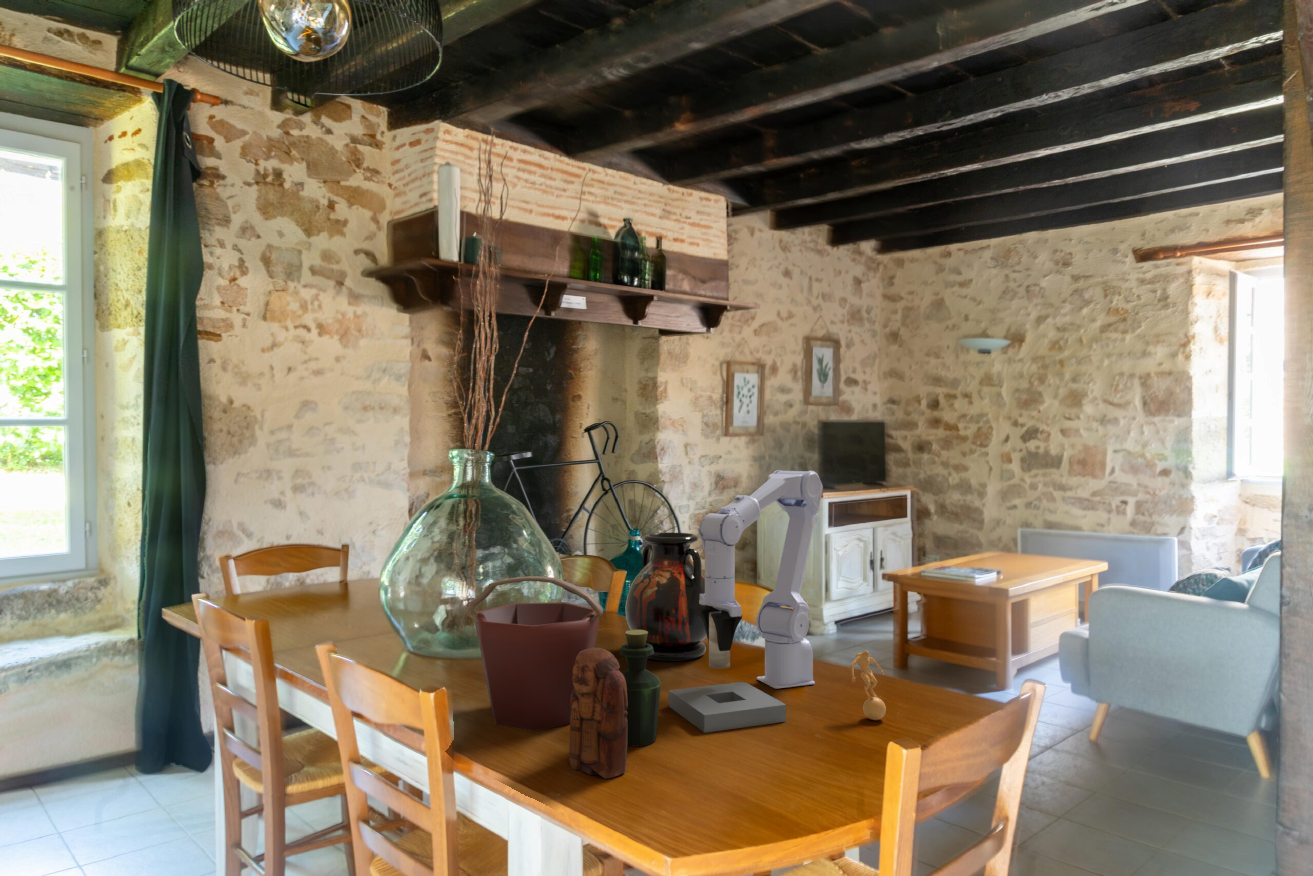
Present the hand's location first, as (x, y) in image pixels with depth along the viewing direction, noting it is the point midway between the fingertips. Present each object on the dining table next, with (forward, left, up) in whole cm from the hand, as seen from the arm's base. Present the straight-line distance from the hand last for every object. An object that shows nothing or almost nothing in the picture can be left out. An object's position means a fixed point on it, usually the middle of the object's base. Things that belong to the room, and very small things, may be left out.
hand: (719, 648), depth 165 cm
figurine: (-21, +18, -11) cm, 30 cm away
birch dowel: (0, 0, -3) cm, 3 cm away
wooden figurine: (+32, +22, -11) cm, 40 cm away
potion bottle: (+22, +13, -11) cm, 28 cm away
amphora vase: (-6, -39, -11) cm, 41 cm away
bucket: (+34, -7, -11) cm, 36 cm away
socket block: (+2, +6, -11) cm, 12 cm away
